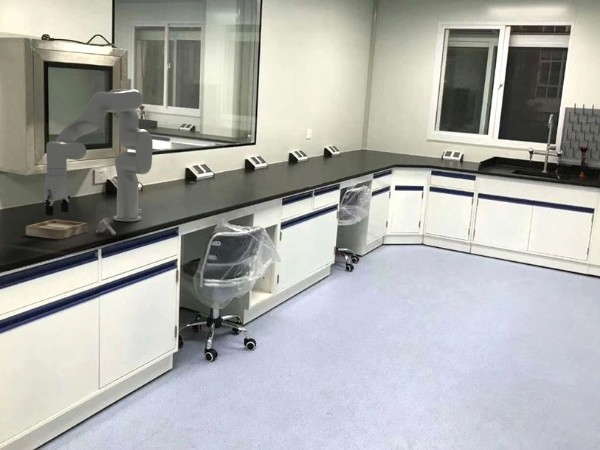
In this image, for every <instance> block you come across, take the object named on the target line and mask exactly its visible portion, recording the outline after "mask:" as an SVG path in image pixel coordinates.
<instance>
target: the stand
mask: <svg viewBox="0 0 600 450" xmlns="http://www.w3.org/2000/svg"><path fill="white" fill-rule="evenodd" d="M110 221H111V219H110V218H108V217H105V218H103V219H102V220H101V221H99V223H98V225H97V228H96V233H98V234H99V233H103V232H104V231H106V230H108V231H109V232H110V233H111V235H113V236H115V235H116V233H117V232H116V231H115V230H114V228H112V226H111V225H110Z"/></svg>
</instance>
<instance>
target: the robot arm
mask: <svg viewBox="0 0 600 450" xmlns="http://www.w3.org/2000/svg"><path fill="white" fill-rule="evenodd" d="M143 103H144V99H143V95H142V93H141V92H140V91H139V90H137V89H128V88H127V89H124V88H115V89H110V90H109V91H98V92H95V93H94V94H93V95H92V97H91V98H90V100H89V101H88V102H87V104H86V106H85V108H84V109H83V111H82V113H81V114H80V116H79V117H78V118H77V119H75V120H74V121H73V122H71V123H69V124H68V125H67V126H66V127H64V128H63V129H62V131H61V132H60V133H59V135H58V136H57V138H56V140H55V141H48V142H47V143H46V145H45V147H46V149H45V150H46V153H45V154H46V176H45V178H44V186H43V194H42V195H41V199H42V202H43V205H44V206H45V216H49V217H50V216H51V217H53V216H54V206H53V205H54V202H56V201H61V202H60V211H61V213H68V212H69V203H70V199H71V195H72V191H71V190H69V183H68V177H67V172H68V170H67V168H68V167H67V166H68V165H67V164H68V163H67V160H75V161H78V160H79V161H80V160H81V159H83V158H85V156H86V155H87V148H86V146H85V144H83V143H82V142H80V141H76V140H78V139H79V138H80V137H82V136H84V135H87V134H89V133H92V132H94V131H96V130H97V129H98V128H99V127H100V126H101V124H102V122H103V120H104V119H105V117H106V116H107V114H108V113H117V114H118V115H117V116H118V118H119V121H118V122H119V125H118V127H119V129H118V130H119V131H118V140H119V141H118V142H119V145H120V147H122V148H124V149H125V150H126V149H127V150H134V151H135V152H133V151H122V152H120V153H118V154H117V155H116V157H115V160H114V166H115V170H116V180H117V181H116V183H117V184H116V185H117V186H116V215H113V220H114V221H118V222H137V221H142V216H140V215H139V214H141V213H142V211H143V210H142V209H141V208H139V179H138V175H146V174H148V173H149V172H150V171H151V169H152V165H153V163H152V162H153V138H152V135H151V133H150V132H149V131H148V130H146V129H141V128H140V127H139V126H140V124H139V123H140V121H139V115H138V111H137V109H139V108H140V107H142V105H143Z"/></svg>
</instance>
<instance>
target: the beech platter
mask: <svg viewBox="0 0 600 450" xmlns="http://www.w3.org/2000/svg"><path fill="white" fill-rule="evenodd" d="M87 232H88V222H81V221H79V222H78V221H71V220H64V219H63V220H62V219H51V220H46V221H42V222H41V221H40V222H37V223H34V224H29V225H26V226H25V236H29V237H30V236H31V237H38V238H39V237H40V238H46V239H55V240H64V239H67V238H70V237H74V236H78V235H81V234H84V233H87Z"/></svg>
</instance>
